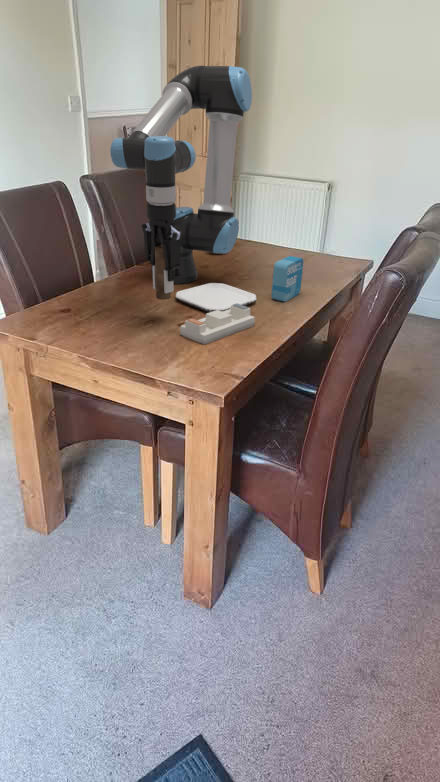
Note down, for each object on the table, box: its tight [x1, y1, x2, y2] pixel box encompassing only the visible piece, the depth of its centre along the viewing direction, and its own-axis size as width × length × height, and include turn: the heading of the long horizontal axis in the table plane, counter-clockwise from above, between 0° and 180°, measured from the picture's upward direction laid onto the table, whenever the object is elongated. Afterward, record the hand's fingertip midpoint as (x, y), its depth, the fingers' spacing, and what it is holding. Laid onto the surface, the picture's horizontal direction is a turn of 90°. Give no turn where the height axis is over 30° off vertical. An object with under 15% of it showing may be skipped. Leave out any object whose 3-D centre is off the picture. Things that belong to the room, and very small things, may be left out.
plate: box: [175, 282, 257, 313], centre depth 176 cm, size 21×21×2 cm
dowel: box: [155, 245, 172, 301], centre depth 154 cm, size 4×4×14 cm
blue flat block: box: [271, 255, 304, 303], centre depth 179 cm, size 12×4×12 cm, turn 147°
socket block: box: [179, 303, 256, 346], centre depth 154 cm, size 9×20×5 cm, turn 137°
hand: (163, 289), depth 157 cm, fingers closed on dowel, 4 cm apart
